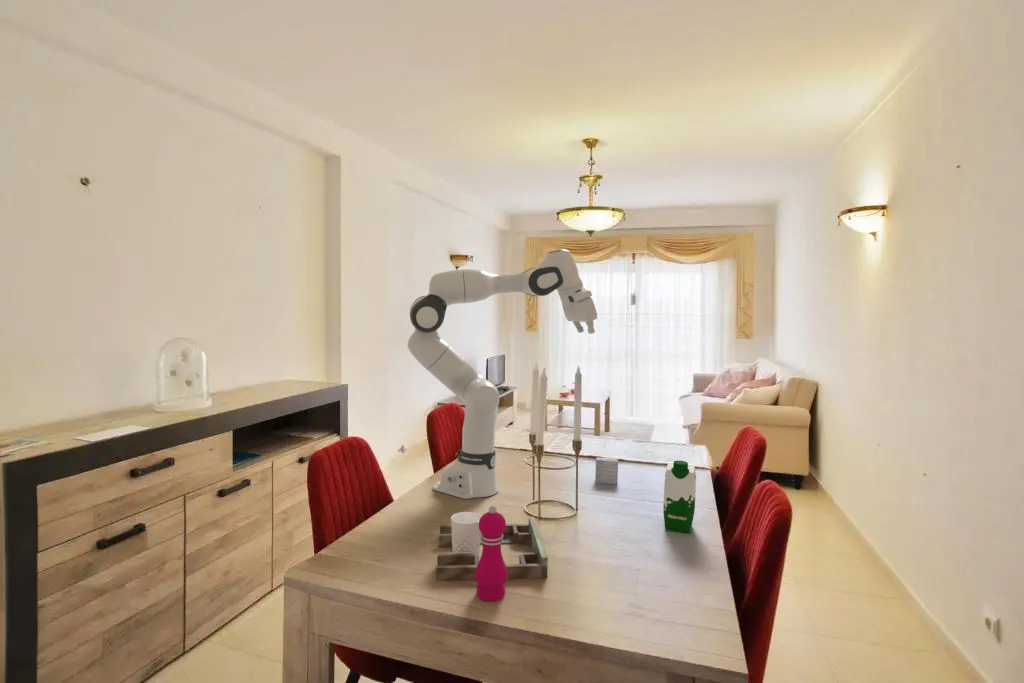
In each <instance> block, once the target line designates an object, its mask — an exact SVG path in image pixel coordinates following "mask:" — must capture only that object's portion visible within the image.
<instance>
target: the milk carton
mask: <svg viewBox="0 0 1024 683" xmlns="http://www.w3.org/2000/svg"><path fill="white" fill-rule="evenodd" d="M696 474H697V473H696V467H695V465H689V463H688V462H687V461H683V460H674V461H673V463H672V462H668V464H667V465H666V468H665V472H664V477H665V478H664V487H663V488H664V489H663V510H662V511H663V522H664V523H663V524H664V531H670V532H677V533H684V534H689V535H690V534H691V531H692V526H693V520H694V516H695V509H696V492H697V491H696V490H697V489H696V488H697V485H696V483H697V475H696Z"/></svg>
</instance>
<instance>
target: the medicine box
mask: <svg viewBox="0 0 1024 683" xmlns="http://www.w3.org/2000/svg"><path fill="white" fill-rule="evenodd" d="M618 472H619V460H618V458H615V457H595V477H594V478H595V484H600V485H601V484H603V485H618V478H619V477H618V475H619V474H618Z"/></svg>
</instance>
